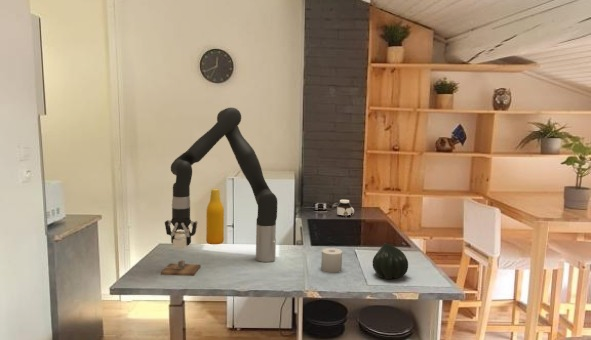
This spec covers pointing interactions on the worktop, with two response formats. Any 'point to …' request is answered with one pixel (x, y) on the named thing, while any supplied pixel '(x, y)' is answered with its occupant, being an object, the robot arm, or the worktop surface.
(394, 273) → the squash
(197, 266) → the plate
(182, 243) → the knob
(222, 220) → the beer bottle
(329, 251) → the toilet tissue
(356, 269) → the worktop surface
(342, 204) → the spread jar
